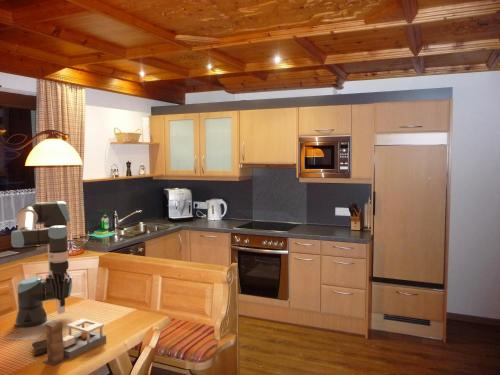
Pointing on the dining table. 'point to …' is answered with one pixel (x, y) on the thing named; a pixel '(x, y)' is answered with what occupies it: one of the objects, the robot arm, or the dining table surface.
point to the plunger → (84, 336)
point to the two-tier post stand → (79, 344)
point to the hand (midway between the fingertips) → (61, 312)
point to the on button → (68, 341)
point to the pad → (55, 362)
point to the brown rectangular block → (54, 341)
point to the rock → (40, 347)
